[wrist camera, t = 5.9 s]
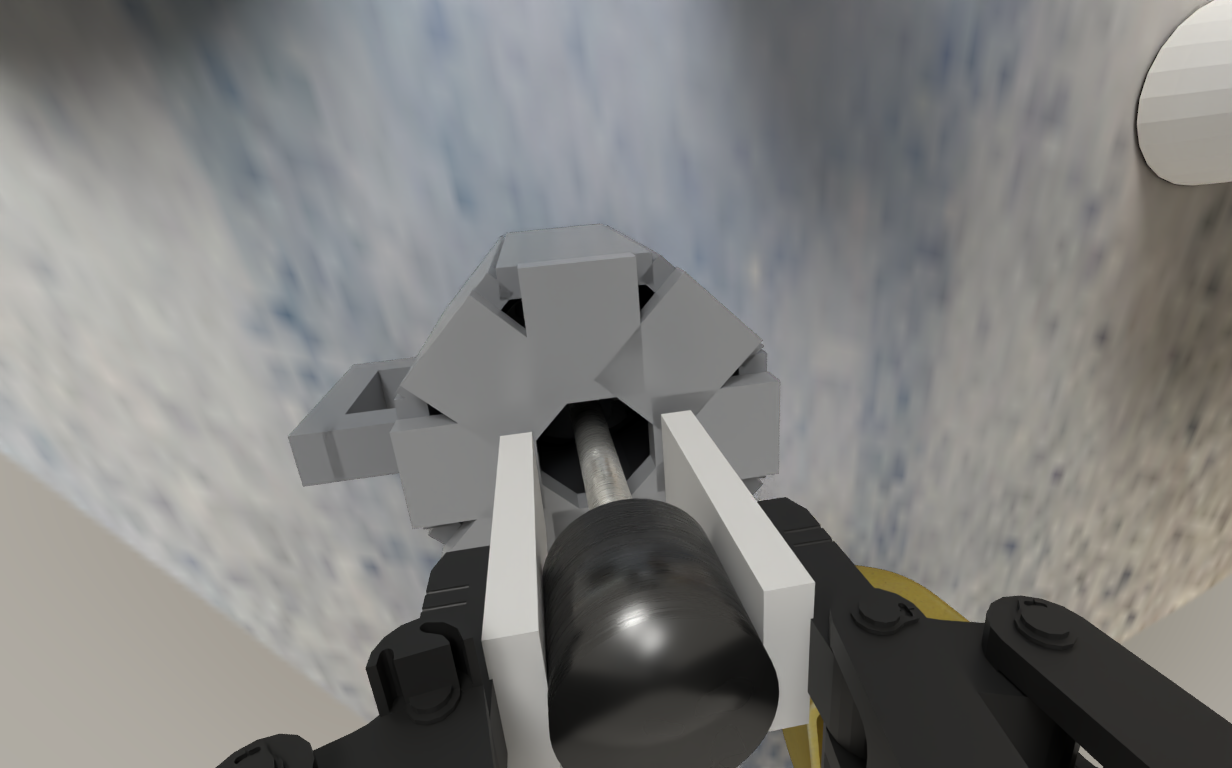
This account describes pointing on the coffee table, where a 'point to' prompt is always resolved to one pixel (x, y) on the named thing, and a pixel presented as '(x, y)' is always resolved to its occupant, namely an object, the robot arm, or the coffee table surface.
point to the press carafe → (547, 383)
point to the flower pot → (809, 737)
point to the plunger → (644, 626)
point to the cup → (1191, 101)
